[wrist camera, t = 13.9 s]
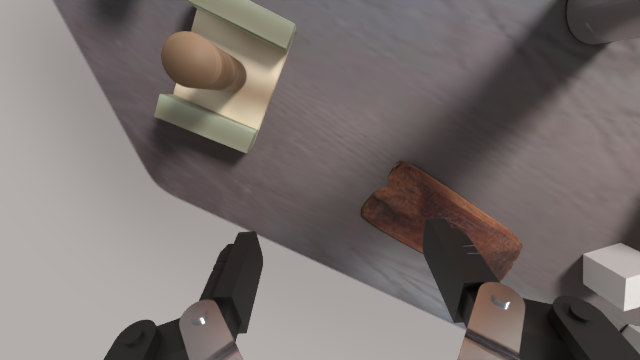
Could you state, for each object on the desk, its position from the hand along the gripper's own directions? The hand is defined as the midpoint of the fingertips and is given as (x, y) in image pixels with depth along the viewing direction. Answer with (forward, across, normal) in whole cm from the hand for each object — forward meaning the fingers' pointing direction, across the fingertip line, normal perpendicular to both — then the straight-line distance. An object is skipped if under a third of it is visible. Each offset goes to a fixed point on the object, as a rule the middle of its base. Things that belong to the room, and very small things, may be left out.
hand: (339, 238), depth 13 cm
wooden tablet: (+22, -16, +19) cm, 33 cm away
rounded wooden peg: (+22, +11, -5) cm, 25 cm away
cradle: (+23, +11, -5) cm, 26 cm away
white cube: (+21, -41, +29) cm, 55 cm away
